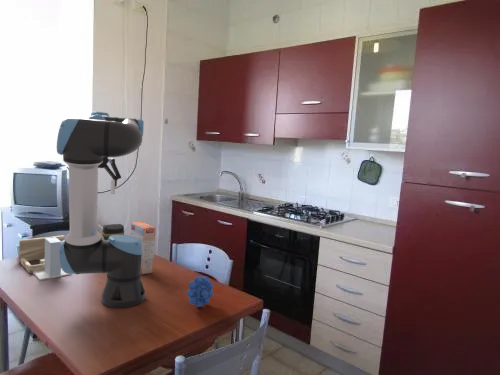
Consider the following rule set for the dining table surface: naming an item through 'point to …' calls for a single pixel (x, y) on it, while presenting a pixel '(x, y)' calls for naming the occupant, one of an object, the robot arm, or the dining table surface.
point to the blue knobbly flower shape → (200, 291)
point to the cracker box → (145, 244)
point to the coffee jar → (112, 230)
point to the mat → (43, 275)
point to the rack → (34, 252)
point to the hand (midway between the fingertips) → (97, 194)
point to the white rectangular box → (52, 256)
